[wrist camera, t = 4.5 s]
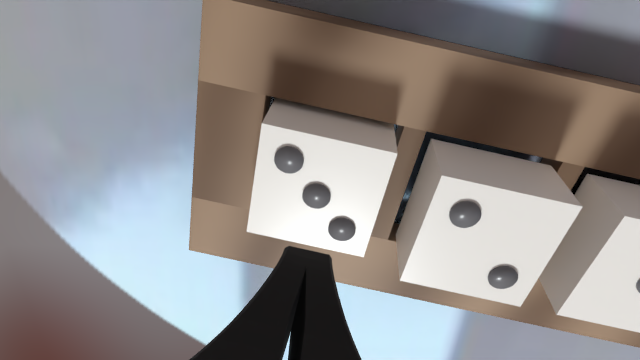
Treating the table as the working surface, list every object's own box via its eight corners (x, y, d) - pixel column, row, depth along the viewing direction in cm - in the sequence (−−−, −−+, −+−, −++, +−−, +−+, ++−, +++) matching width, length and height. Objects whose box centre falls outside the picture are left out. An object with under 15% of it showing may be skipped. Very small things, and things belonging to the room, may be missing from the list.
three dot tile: (393, 121, 18) (397, 154, 16) (364, 216, 21) (363, 258, 18) (276, 95, 18) (261, 124, 16) (261, 193, 21) (245, 233, 18)
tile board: (812, 124, 17) (848, 141, 16) (639, 327, 23) (655, 350, 22) (215, -12, 17) (202, -6, 15) (198, 231, 23) (188, 249, 22)
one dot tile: (705, 200, 18) (765, 248, 15) (636, 287, 20) (677, 342, 18) (587, 173, 18) (626, 217, 15) (532, 264, 20) (557, 316, 18)
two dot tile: (551, 165, 18) (583, 208, 15) (501, 258, 20) (521, 308, 18) (430, 138, 18) (442, 176, 15) (395, 234, 20) (399, 282, 17)
